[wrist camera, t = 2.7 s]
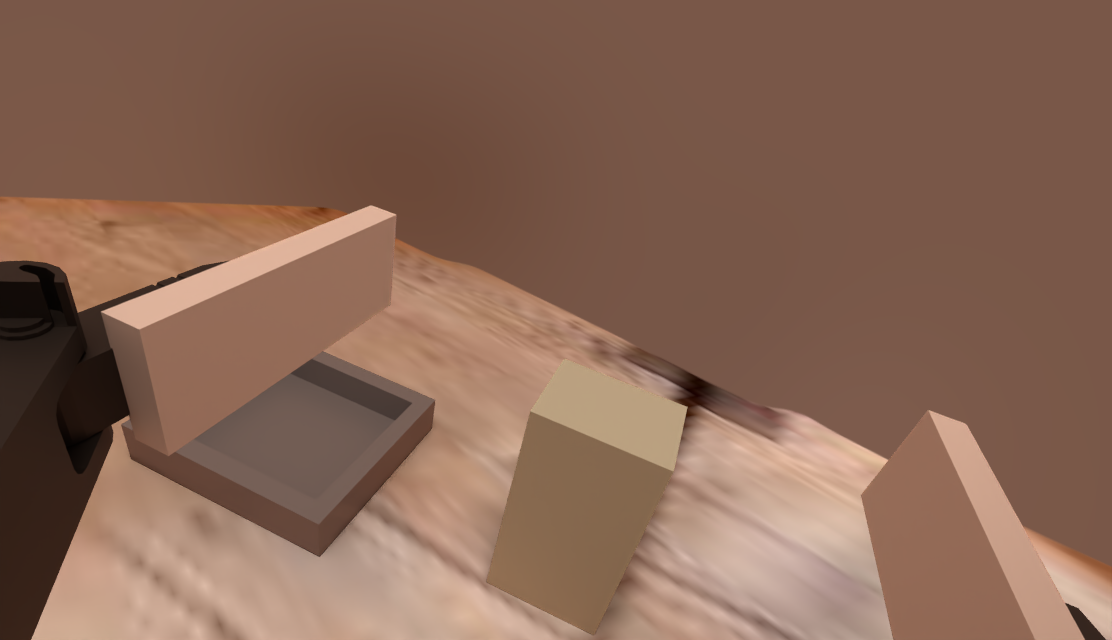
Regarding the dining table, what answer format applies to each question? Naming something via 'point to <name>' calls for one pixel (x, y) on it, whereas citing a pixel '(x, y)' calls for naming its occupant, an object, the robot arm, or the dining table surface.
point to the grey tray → (301, 450)
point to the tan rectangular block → (584, 492)
